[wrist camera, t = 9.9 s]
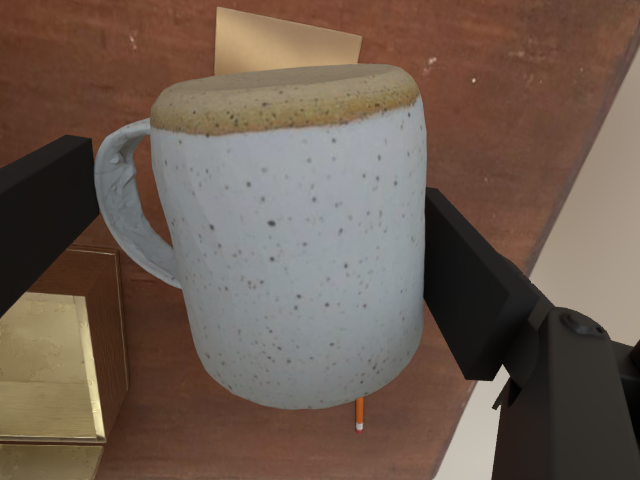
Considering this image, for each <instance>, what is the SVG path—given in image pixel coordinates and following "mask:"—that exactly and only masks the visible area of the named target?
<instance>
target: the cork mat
mask: <svg viewBox="0 0 640 480" xmlns="http://www.w3.org/2000/svg"><path fill="white" fill-rule="evenodd" d="M362 38H363V36H361V35H356V34H352V33H347V32H342V31H337V30H332V29H327V28H322V27H317V26H312V25H307V24H302V23H298V22H293V21H288V20H283V19H278V18H273V17H268V16H263V15H258V14H253V13H248V12H244V11H239V10H234V9H229V8H224V7H219V6H218V7H217V14H216V38H215V62H214V76H219V75H228V74H235V73H243V72H253V71H263V70H273V69H283V68H294V67H307V66H325V65H345V64H357V63H358V58H359V53H360V48H361V43H362Z"/></svg>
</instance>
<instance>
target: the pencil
mask: <svg viewBox="0 0 640 480" xmlns="http://www.w3.org/2000/svg"><path fill="white" fill-rule="evenodd" d="M356 432H357V433H362V432H363V397H361V398H359V399H356Z"/></svg>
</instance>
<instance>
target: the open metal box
mask: <svg viewBox="0 0 640 480" xmlns="http://www.w3.org/2000/svg"><path fill="white" fill-rule="evenodd" d="M129 386H130V379H129V367H128V356H127V344H126V333H125V321H124V310H123V298H122V287H121V275H120V264H119V252H118V250H114V249H104V248H94V247H84V246H74V245H70V246H69V247H68V248H67V249H66V250H65V251H64V252H63V253H62V254H61V255H60V256H59V257H58V258H57V259H56V260H55V261H54V262H53V264H52V265H51V266H50V267H49V268H48V269H47V270H46V271H45V272H44V273H43V274H42V275H41V276H40V277H39V278H38V279H37V280H36V281H35V283H34V284H33V285H32V286H31V287H30V288H29V289H28V290H27V291H26V292H25V293H24V294H23V295H22V296H21V297H20V298H19V299H18V300H17V301H16V303H15V304H14V305H13V306H12V307H11V308H10V309H9V310H8V311H7V312H6V313H5V314H4V315H3V316H2V317H1V318H0V441H44V442H89V443H106V442H107V439H108V437H109V434H110V432H111V430H112V427H113V425H114V422H115V420H116V418H117V415H118V413H119V410H120V408H121V406H122V403H123V401H124V398H125V396H126V394H127V391H128V389H129Z"/></svg>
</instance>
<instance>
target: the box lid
mask: <svg viewBox="0 0 640 480" xmlns="http://www.w3.org/2000/svg"><path fill="white" fill-rule="evenodd" d="M103 453H104V447H103V446H60V445H12V444H0V480H94V478H95V476H96V473H97V470H98V467H99V464H100V461H101V459H102V456H103Z"/></svg>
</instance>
